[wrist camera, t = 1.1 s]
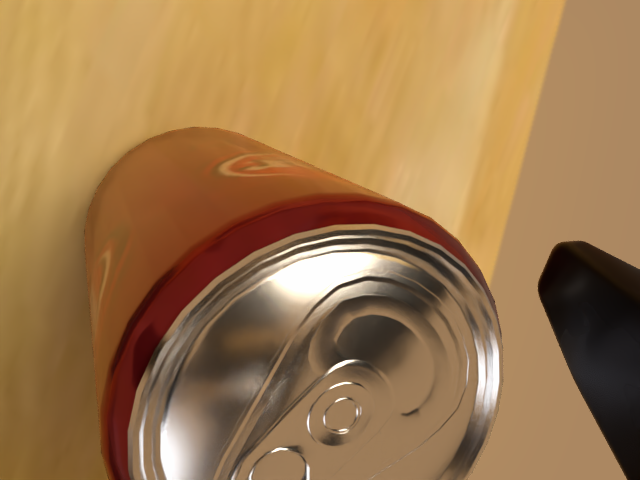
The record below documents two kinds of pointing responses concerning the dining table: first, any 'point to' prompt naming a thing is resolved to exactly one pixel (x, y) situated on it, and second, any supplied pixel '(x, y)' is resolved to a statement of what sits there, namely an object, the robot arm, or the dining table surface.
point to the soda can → (280, 322)
